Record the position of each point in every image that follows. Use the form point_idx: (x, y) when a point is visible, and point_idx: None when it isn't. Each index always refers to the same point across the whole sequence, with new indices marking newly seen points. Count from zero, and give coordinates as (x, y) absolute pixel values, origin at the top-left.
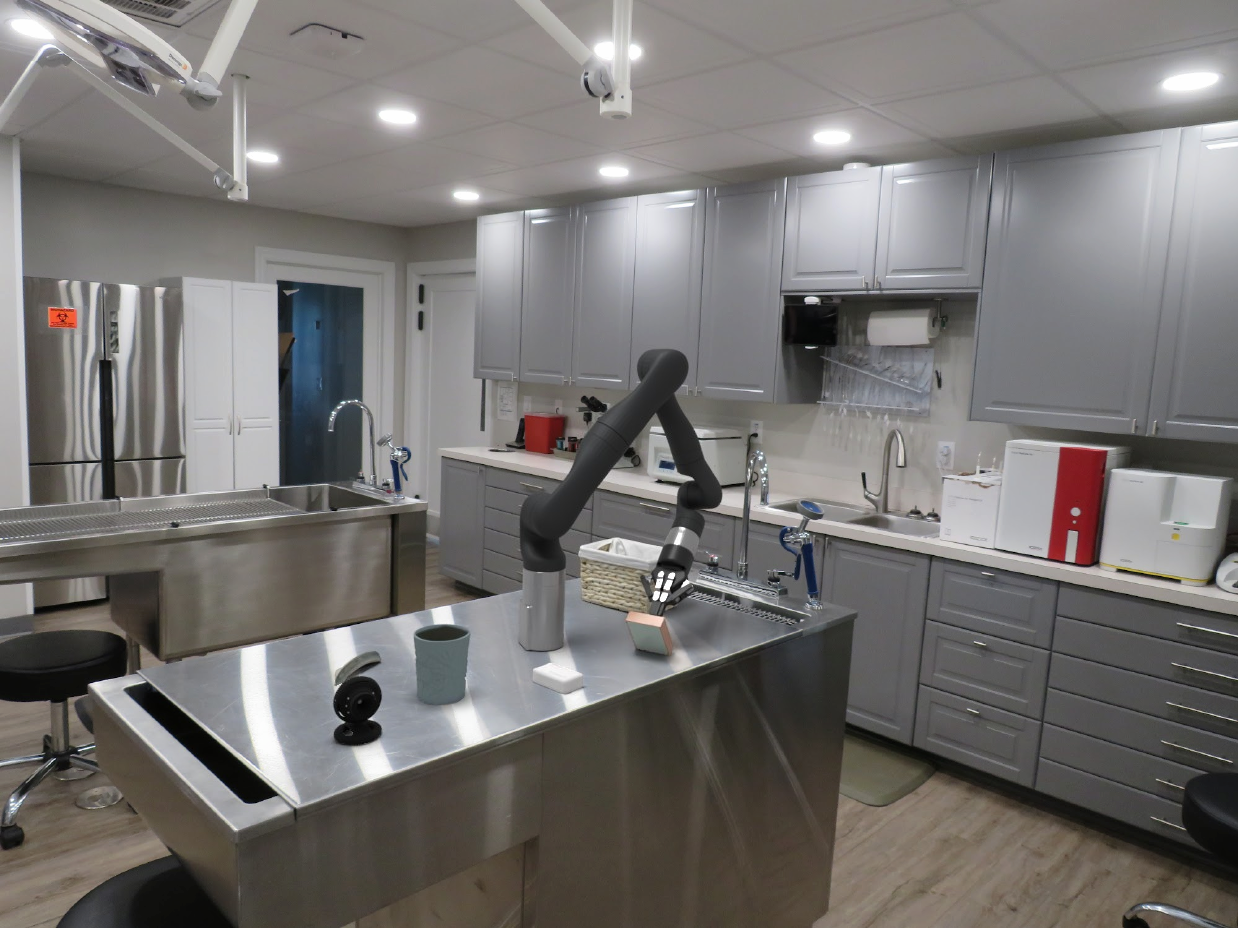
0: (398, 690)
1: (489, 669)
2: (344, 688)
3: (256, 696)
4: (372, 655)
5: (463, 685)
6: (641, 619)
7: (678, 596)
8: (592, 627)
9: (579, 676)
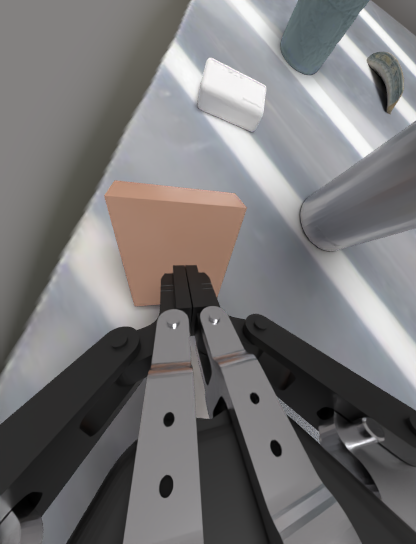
0: (331, 59)
1: (312, 124)
2: None
3: (382, 34)
4: (396, 88)
5: (291, 31)
6: (191, 193)
7: (62, 377)
8: (321, 334)
9: (202, 79)
